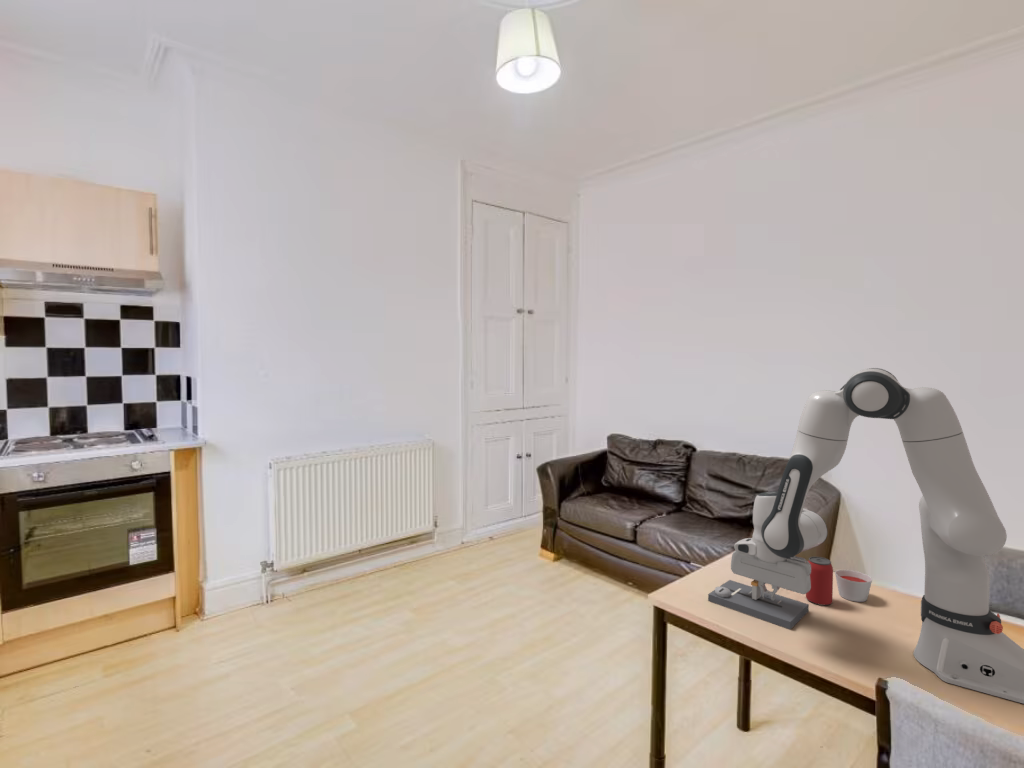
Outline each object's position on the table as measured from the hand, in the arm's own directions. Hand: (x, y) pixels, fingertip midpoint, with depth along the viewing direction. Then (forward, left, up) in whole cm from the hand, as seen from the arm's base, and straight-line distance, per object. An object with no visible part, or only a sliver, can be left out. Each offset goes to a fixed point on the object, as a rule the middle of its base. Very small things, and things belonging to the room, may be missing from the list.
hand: (768, 598), depth 143 cm
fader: (+3, 0, -1) cm, 4 cm away
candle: (-14, -26, -4) cm, 30 cm away
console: (+3, 0, -3) cm, 4 cm away
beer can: (-8, -16, -3) cm, 18 cm away
